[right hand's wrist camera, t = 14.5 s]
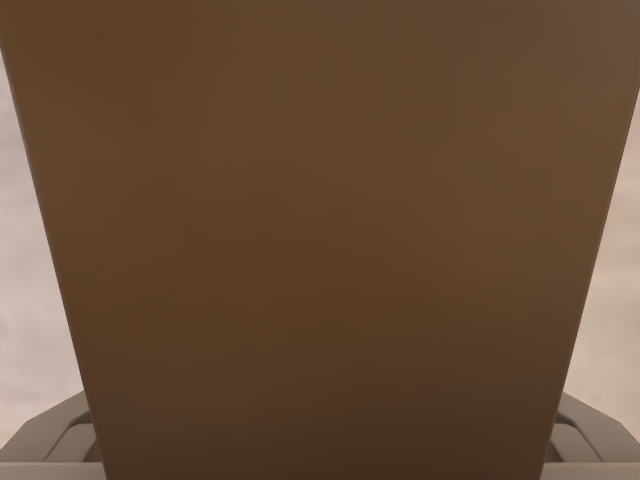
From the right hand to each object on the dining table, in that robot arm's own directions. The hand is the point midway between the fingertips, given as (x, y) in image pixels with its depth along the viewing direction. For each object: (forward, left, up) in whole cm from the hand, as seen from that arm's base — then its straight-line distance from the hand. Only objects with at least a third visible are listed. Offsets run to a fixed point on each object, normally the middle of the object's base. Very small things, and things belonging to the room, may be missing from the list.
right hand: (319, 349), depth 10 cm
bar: (+3, +8, -4) cm, 10 cm away
